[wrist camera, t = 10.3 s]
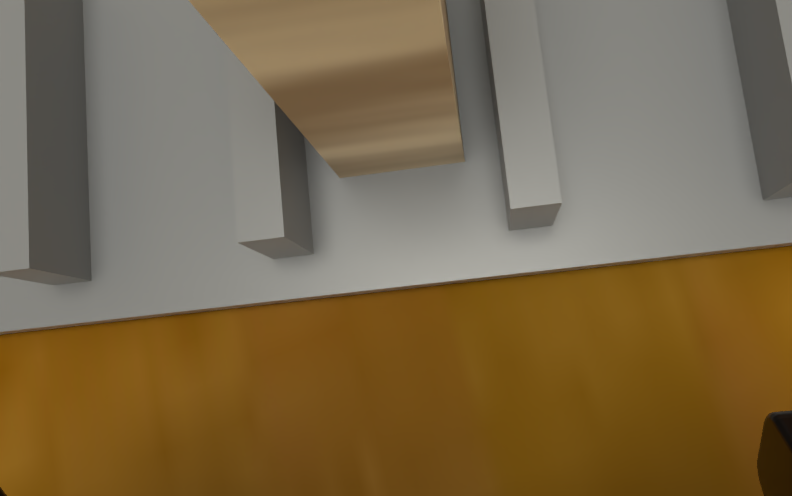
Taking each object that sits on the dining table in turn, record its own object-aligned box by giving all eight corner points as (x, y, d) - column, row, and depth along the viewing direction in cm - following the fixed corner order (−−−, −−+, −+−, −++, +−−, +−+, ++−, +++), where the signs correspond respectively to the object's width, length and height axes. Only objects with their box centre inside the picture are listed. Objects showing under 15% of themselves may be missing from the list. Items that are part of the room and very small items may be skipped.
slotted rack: (907, 232, 17) (998, 203, 14) (-9, 335, 19) (-104, 330, 16) (821, -169, 18) (886, -275, 15) (-12, -25, 21) (-99, -91, 18)
